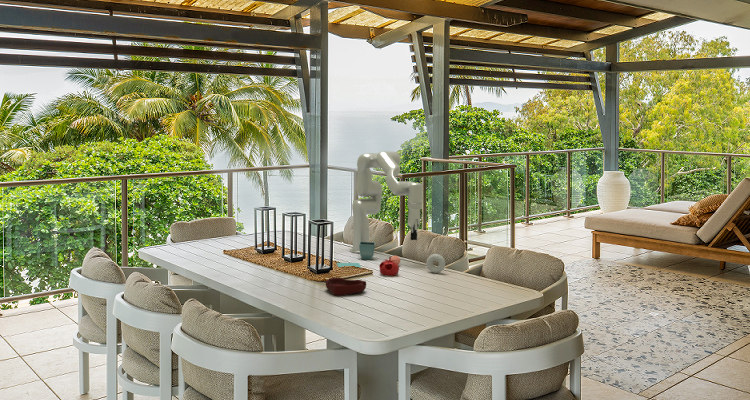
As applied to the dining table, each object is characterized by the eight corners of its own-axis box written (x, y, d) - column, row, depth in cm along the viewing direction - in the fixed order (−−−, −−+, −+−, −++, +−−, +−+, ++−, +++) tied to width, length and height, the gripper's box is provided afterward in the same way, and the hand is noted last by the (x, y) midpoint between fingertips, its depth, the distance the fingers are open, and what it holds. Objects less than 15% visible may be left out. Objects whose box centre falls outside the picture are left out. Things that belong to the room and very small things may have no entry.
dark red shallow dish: (316, 294, 288) (316, 283, 288) (332, 287, 303) (332, 276, 303) (354, 299, 282) (354, 288, 281) (368, 291, 297) (369, 280, 297)
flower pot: (374, 260, 369) (375, 244, 368) (358, 260, 369) (359, 244, 368) (374, 257, 378) (375, 242, 377) (359, 257, 378) (359, 241, 377)
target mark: (336, 263, 358) (336, 262, 358) (358, 263, 360) (358, 262, 360) (338, 267, 346) (338, 267, 346) (361, 267, 348) (361, 267, 348)
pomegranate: (388, 272, 340) (389, 254, 339) (402, 275, 333) (403, 257, 332) (374, 274, 333) (375, 256, 332) (388, 277, 326) (389, 258, 325)
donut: (445, 273, 341) (446, 254, 340) (443, 274, 338) (444, 255, 337) (426, 271, 345) (427, 252, 344) (425, 272, 342) (425, 253, 341)
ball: (389, 264, 359) (389, 254, 358) (399, 264, 360) (399, 254, 359) (390, 266, 354) (391, 256, 353) (401, 266, 354) (401, 256, 354)
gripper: (405, 204, 362) (404, 237, 363) (410, 207, 347) (409, 242, 349) (419, 204, 363) (417, 237, 364) (424, 207, 348) (423, 242, 350)
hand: (413, 239), depth 356 cm, fingers closed
